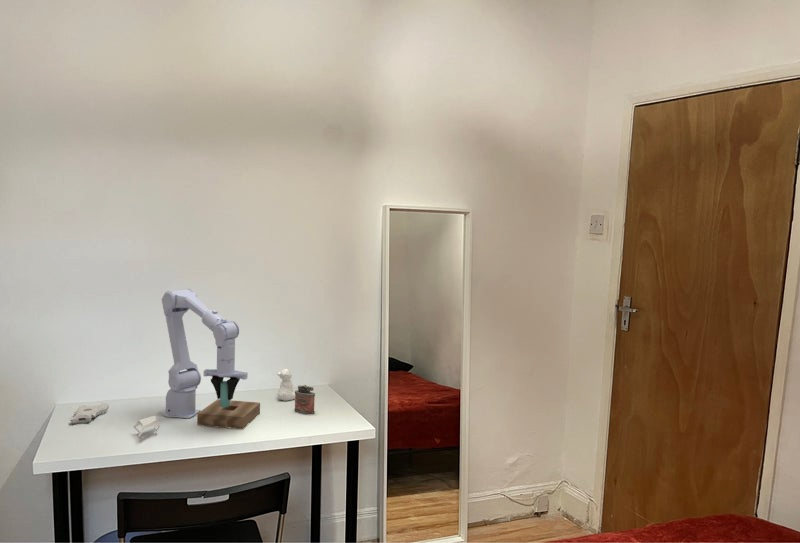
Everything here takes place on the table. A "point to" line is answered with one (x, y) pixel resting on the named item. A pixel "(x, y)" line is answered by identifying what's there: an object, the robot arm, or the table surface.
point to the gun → (89, 413)
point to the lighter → (304, 400)
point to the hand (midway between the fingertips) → (225, 398)
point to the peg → (224, 394)
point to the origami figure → (147, 424)
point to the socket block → (228, 414)
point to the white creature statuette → (285, 386)
